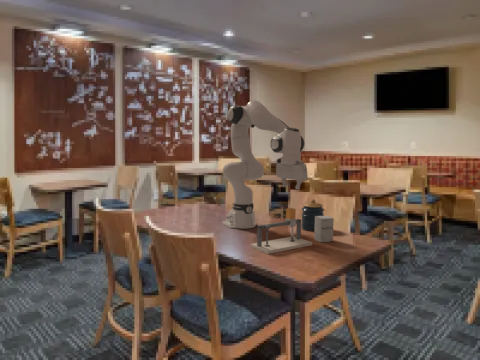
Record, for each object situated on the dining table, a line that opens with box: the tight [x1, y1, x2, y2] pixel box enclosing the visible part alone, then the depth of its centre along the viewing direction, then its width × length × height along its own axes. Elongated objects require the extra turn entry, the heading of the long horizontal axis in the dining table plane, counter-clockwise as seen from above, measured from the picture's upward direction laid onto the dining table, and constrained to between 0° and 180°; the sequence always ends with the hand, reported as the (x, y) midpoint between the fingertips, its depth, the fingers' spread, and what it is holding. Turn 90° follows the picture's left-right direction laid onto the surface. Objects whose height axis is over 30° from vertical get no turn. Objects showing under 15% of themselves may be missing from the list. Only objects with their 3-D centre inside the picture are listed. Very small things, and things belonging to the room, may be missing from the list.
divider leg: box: [284, 207, 297, 240], centre depth 201 cm, size 4×4×16 cm
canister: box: [301, 198, 325, 232], centre depth 233 cm, size 13×13×18 cm
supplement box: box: [313, 215, 335, 243], centre depth 207 cm, size 7×7×13 cm
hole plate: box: [249, 218, 313, 255], centre depth 197 cm, size 14×28×12 cm, turn 123°
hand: (291, 188), depth 199 cm, fingers open, 8 cm apart
